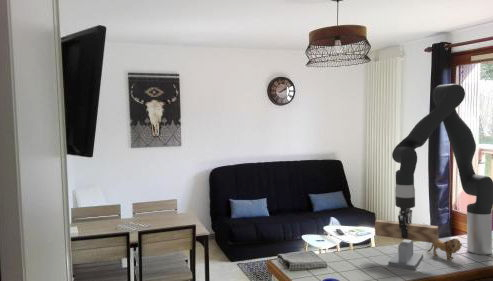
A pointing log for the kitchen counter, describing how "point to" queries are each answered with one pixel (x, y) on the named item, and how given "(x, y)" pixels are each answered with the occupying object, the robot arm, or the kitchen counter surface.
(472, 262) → the kitchen counter surface
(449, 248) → the lion figurine
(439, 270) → the kitchen counter surface
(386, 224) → the walnut bar
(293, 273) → the kitchen counter surface
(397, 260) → the ridge stand
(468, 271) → the kitchen counter surface
